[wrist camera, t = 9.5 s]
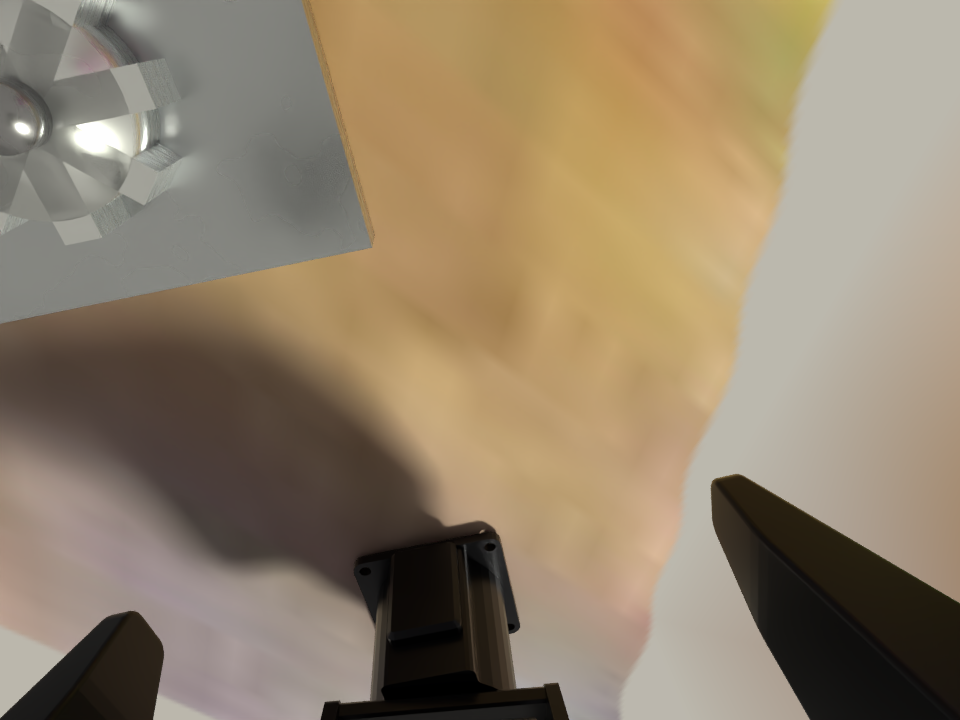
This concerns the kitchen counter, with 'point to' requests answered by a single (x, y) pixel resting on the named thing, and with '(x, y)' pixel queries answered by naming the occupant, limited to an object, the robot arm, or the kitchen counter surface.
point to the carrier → (165, 148)
